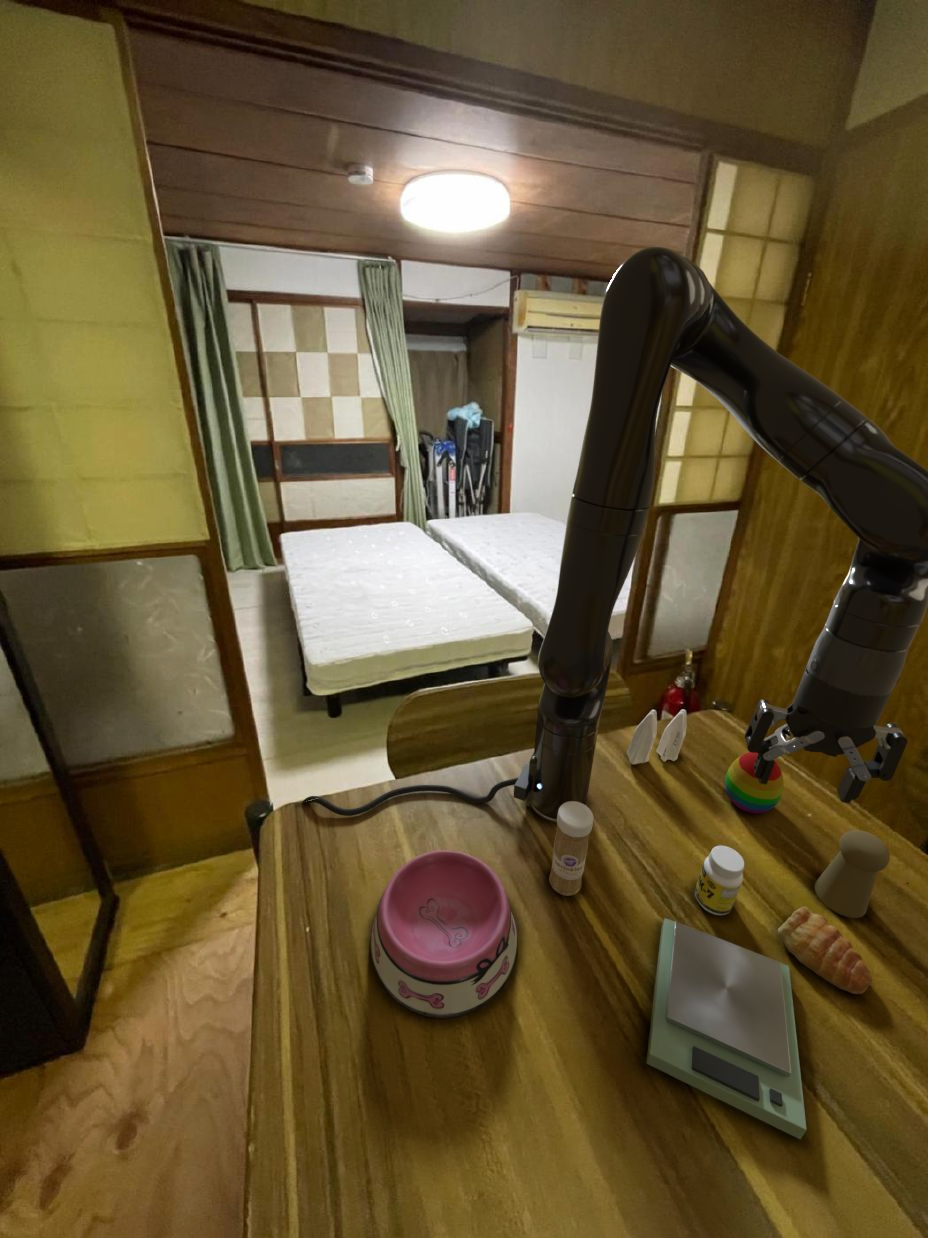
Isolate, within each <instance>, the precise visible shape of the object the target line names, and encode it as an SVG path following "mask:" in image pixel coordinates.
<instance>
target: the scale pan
mask: <svg viewBox="0 0 928 1238" xmlns="http://www.w3.org/2000/svg"><path fill="white" fill-rule="evenodd" d="M674 922H675V925H674V934H673V945H672V956H671V967H670V978H669V989H668V1000H667V1011H666V1021H668V1022H670V1023H672V1024H674V1025H676V1026H678V1027H681V1028H683V1029H685V1030H687V1031H689V1032H691V1033H694V1034H696V1035H698V1036H700V1037H702V1038H704V1039H707V1040H709V1041H711V1042H713V1043H715V1044H718V1045H720V1046H722V1047H724V1048H726V1049H728V1050H731V1051H733V1052H735V1053H737V1054H739V1055H741V1056H744V1057H746V1058H748V1059H750V1060H752V1061H755V1062H757V1063H759V1064H761V1065H763V1066H765V1067H768V1068H770V1069H772V1070H774V1071H776V1072H778V1073H781V1074H783V1075H785V1076H787V1077H789V1076H790V1074H791V1067H790V1057H789V1046H788V1036H787V1025H786V1015H785V1004H784V994H783V983H782V972H781V961H778V960H776V959H773V958H772V957H768V956H766V955H764V954H760V953H758V952H756V951H753V950H750V949H748V948H745V947H742V946H740V945H738V944H735V943H732V942H730V941H727V940H725V939H722V938H719V937H718V936H714V935H712V934H709V933H707V932H704V931H702V930H699V929H697V928H694V927H691V926H689V925H686V924H683V923H682V922H681V923H680V922H679V921H674Z"/></svg>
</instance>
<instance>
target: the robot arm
mask: <svg viewBox="0 0 928 1238" xmlns="http://www.w3.org/2000/svg"><path fill="white" fill-rule="evenodd" d="M599 317H600V318H599V324H598V334H597V346H596V356H595V364H594V365H595V366H594V375H593V385H592V395H591V401H590V408H589V412H588V417H587V421H586V427H585V432H584V436H583V440H582V444H581V450H580V454H579V455H580V457H579V460H578V466H577V471H576V475H575V479H574V484H573V488H572V493H571V498H570V502H569V508H568V513H567V518H566V523H565V524H566V525H565V532H564V537H563V538H564V539H563V544H562V550H561V551H562V552H561V558H560V566H559V573H558V581H557V588H556V589H557V590H556V596H555V601H554V605H553V608H552V612H551V616H550V618H549V622H548V626H547V629H546V631H545V635H544V637H543V640H542V643H541V646H540V649H539V652H538V655H537V656H538V657H537V666H538V670H539V671H538V672H539V675H540V677H541V679H542V682H543V687H542V690H541V692H540V693H541V694H540V697H539V700H538V705H537V717H536V718H537V719H536V728H535V737H534V748H533V753H532V755H531V757H530V759H529V763H528V764H527V763H525V764H524V766H523V767H522V769H521V772H519V775H518V777H515V778H510V779H506V780H502V781H500V782H498V783H496V784H494V786H492V787H491V789H490V791H489V792H488V794H487V795H486V796H479V797H478V796H474V795H470V794H468V793H466V792H464V791H461V790H459V789H456V788H454V787H451V786H448V785H440V784H439V785H438V784H419V785H412V786H411V785H410V786H404V787H400V788H397V789H396V788H395V789H393V790H390V791H388V792H386V793H384V794H382V795H380V796H379V797H376V798H374V799H373V800H372V801H370V802H368V803H365V804H364V805H363V806H360V807H355V808H342V807H340V806H337V805H335V804H333V803H332V802H330V801H329V800H327V799H326V798H324V797H321V796H318V795H310V796H307V797H305V798H304V799H303V801H302V802H303V803H302V804H303V805H309V804H311V803H316V804H319V805H321V807H324V809H327V810H329V811H330V812H332V813H334V814H336V815H340V816H343V817H345V816H346V817H351V816H357V815H361V814H364V813H366V812H368V811H370V810H373V809H374V808H376V807H377V806H379V805H381V804H382V803H384V802H385V801H388V800H389V799H392V798H394V797H397V796H400V795H405V794H410V793H417V792H438V793H446V794H451V795H453V796H456V797H458V798H460V799H462V800H464V801H466V802H470V803H474V804H487V803H489V802H491V801H492V800H493V799H494V798H495V795H496V794H497V792H499V791H500V790H501V789H503V788H504V789H505V788H507V787H510V786H513V798H514V799H517V800H520V801H524V802H525V806H526V807H529V808H531V809H532V811H533V813H535V814H536V815H537V816H538V817H540V818H541V819H543V820H545V821H546V822H550V823H553V824H557V815H558V810H559V808H560V806H561V805H562V804H564V803H566V802H569V801H576V802H580V803H582V804H584V805H586V806H587V802H588V794H589V789H590V782H591V775H592V770H593V763H594V758H595V752H596V746H597V739H598V734H599V727H600V721H601V715H602V711H603V707H604V703H605V699H606V694H607V689H608V683H609V676H610V672H611V666H612V659H613V653H614V644H613V639H612V636H611V634H610V632H609V628H610V623H611V620H612V619H611V618H612V615H613V612H614V608H615V606H616V603H617V600H618V598H619V596H620V594H621V592H622V590H623V587H624V585H625V582H626V580H627V578H628V576H629V573H630V571H631V568H632V566H633V564H634V560H635V558H636V555H637V552H638V551H639V547H640V544H641V541H642V538H643V535H644V532H645V528H646V524H647V521H648V516H649V514H650V513H649V512H650V509H651V505H652V502H653V496H654V491H655V484H656V473H657V471H656V469H657V454H656V453H657V451H656V449H657V448H656V447H657V445H656V436H657V435H656V431H657V430H656V429H657V419H658V412H659V408H660V407H659V406H660V402H661V398H662V395H663V391H664V388H665V384H666V381H667V378H668V374H669V371H670V368H671V367H672V368H673V369H675V370H677V371H679V372H681V373H682V374H684V375H685V376H687V377H689V378H691V379H692V380H693V381H694V382H696V383H698V384H699V385H701V386H702V387H703V389H705V390H707V391H708V392H709V393H710V394H711V395H712V396H713V397H714V398H715V399H716V400H718V401H719V402H720V403H721V404H722V406H723V407H724V408H725V409H726V410H727V411H728V412H729V413H730V414H731V415H732V416H733V417H734V419H735V420H736V421H737V422H738V423H739V424H740V426H741V427H742V428H743V429H744V430H745V431H746V433H747V434H748V435H749V436H750V437H751V438H752V439H753V440H754V442H755V443H756V444H758V446H759V447H760V448H762V449H763V450H764V451H765V453H767V454H768V455H769V456H770V457H771V458H773V459H774V460H775V461H776V462H777V463H778V464H780V466H782V467H783V468H784V469H786V470H787V471H788V472H789V473H790V474H792V475H793V476H794V477H795V478H796V479H798V480H799V481H800V482H801V483H802V484H804V485H805V486H806V487H808V488H810V489H811V490H812V491H814V492H815V493H816V494H817V495H819V497H820V498H822V499H823V501H824V502H825V503H826V504H827V506H828V507H829V508H830V509H831V510H832V511H833V513H834V514H835V515H836V516H837V517H838V519H840V520H841V521H842V522H843V523H844V524H845V526H847V528H848V529H849V530H850V531H851V532H852V533H853V534H854V535H855V536H856V537H857V538H858V539H857V543H856V546H855V550H854V552H853V556H852V559H851V563H850V566H849V569H848V572H847V574H846V575H845V577H844V579H843V582H842V583H841V585H840V587H839V589H838V591H837V593H836V595H835V597H834V601H833V602H832V604H831V608H830V611H829V613H828V616H827V619H826V621H825V624H824V626H823V628H822V630H821V632H820V634H819V635H818V637H817V639H816V640H815V642H814V645H813V647H812V650H811V653H810V655H809V658H808V661H807V664H806V666H805V669H804V671H803V673H802V676H801V679H800V682H799V684H798V687H797V690H796V692H795V696H794V699H793V701H792V703H791V704H790V705H789V706H787V707H786V708H784V707H780V706H777V705H772V704H771V701H769V700H768V699H760V700H759V701H758V703H757V705H756V707H755V710H754V712H753V715H752V717H751V720H750V721H749V724H748V726H747V728H746V731H745V732H744V739H745V743H746V748H747V751H748V752H751V753H758V755H757V758H756V761H755V763H754V766H753V768H754V773H755V777H756V778H758V781H759V783H761V784H765V785H766V784H767V782H768V780H769V777H770V775H771V772H772V769H773V767H774V764H775V761H776V759H777V758H779V757H781V756H783V755H785V754H787V755H791V754H793V753H795V752H797V751H800V750H801V749H803V750H804V751H805V752H811V753H822V754H823V755H826V756H828V757H829V756H830V757H834V758H837V757H838V756H843V755H845V757H846V759H847V761H848V762H849V764H850V766H846V769H845V771H844V773H843V775H842V778H841V779H840V781H839V783H838V786H837V788H836V793H837V795H838V797H839V800H840V802H841V803H845V804H851V802H852V800H853V801H855V800H857V799H858V798H859V797H860V795H861V793H862V791H863V789H864V787H865V785H866V783H867V782H869V781H870V780H871V779H879V780H881V781H884V782H889V781H891V780H892V779H893V778H894V776H895V773H896V770H897V769H898V766H899V763H900V761H901V759H902V757H903V755H904V751H905V749H906V747H907V745H908V741H909V740H908V738H907V737H906V736H905V733H903V731H902V730H901V728H900V726H899V725H898V724H897V723H895V722H889V723H887V724H885V726H881V725H876V724H877V723H878V722H879V721H880V718H881V716H882V714H883V712H884V710H885V708H886V706H887V704H888V701H889V700H890V697H891V695H892V693H893V691H894V689H895V686H896V685H897V684H898V683H899V681H900V678H901V674H902V671H903V669H904V667H905V664H906V659H907V656H908V653H909V650H910V648H911V645H912V642H913V641H914V638H915V636H916V634H917V633H918V629H919V628H920V627H921V623H922V622H923V619H924V617H925V614H926V612H927V609H928V470H927V469H926V468H925V467H923V465H921V464H919V463H918V462H917V461H916V460H914V459H913V458H911V457H910V456H908V455H907V454H906V453H905V452H903V451H902V450H900V449H899V448H898V447H896V446H895V445H894V444H893V443H892V442H891V440H890V438H889V437H888V435H887V434H886V433H885V432H884V431H883V430H882V429H881V428H880V426H879V425H877V424H876V423H875V422H874V421H873V420H872V419H871V418H868V416H867V415H865V414H864V413H863V412H862V411H861V410H859V409H858V408H856V407H855V406H854V405H852V404H851V403H850V402H849V401H847V400H846V399H845V398H843V397H842V396H841V395H839V394H838V393H837V392H836V391H834V390H833V389H831V388H830V387H829V386H828V385H826V384H825V383H824V382H822V381H820V380H819V379H818V378H816V377H815V376H814V375H812V374H810V373H809V372H808V371H806V370H804V369H803V368H802V367H800V366H798V365H797V364H795V363H794V362H792V361H791V360H790V359H788V358H787V357H785V356H784V355H783V354H781V353H779V352H778V351H777V350H776V349H774V348H773V347H772V346H770V345H769V344H768V343H766V342H765V341H764V340H763V339H762V338H761V337H760V336H758V335H757V334H756V333H755V332H754V331H753V330H752V329H750V328H749V327H748V326H747V325H746V323H744V322H743V321H742V320H741V319H740V318H739V316H737V314H736V313H735V312H734V311H733V309H732V308H730V306H729V305H728V304H727V303H726V301H725V300H724V299H723V297H722V296H721V295H720V294H719V292H718V291H717V290H716V289H715V287H714V286H713V285H712V283H710V281H709V279H708V277H707V276H706V274H705V272H704V270H703V269H702V268H701V267H700V266H698V264H696V263H695V262H693V261H692V260H690V259H689V258H687V257H685V256H684V255H682V254H681V253H679V252H677V251H675V250H673V249H670V248H667V247H662V246H650V247H646V248H643V249H640V250H639V251H637V252H635V253H634V254H632V255H630V256H629V257H628V258H627V259H626V260H624V262H623V263H622V264H621V265H620V266H619V267H618V269H617V270H616V272H615V273H614V274H613V276H612V279H611V280H610V282H609V284H608V285H607V288H606V291H605V294H604V297H603V301H602V305H601V310H600V316H599ZM780 721H785V724H783V725H781V726H780V727H778V728H777V729H775V731H774V733H772V734H770V735H769V736H767V733H768V731H769V729H770V727H775V726H776V724H778V722H780ZM766 736H767V737H766ZM791 736H792V737H793V738H791V739H790V737H791ZM873 739H875V740H876V742H877V746H876V748H875V751H874V754H873V756H872V759H871V760H864V759H863V757H862V756H861V754H860V752H859V750H858V748H859V747H861V746H863V745H865V744H868V743H869V742H871V741H873ZM774 760H775V761H774ZM320 797H321V798H320ZM315 798H319V799H315ZM311 799H315V800H312V801H308V800H311ZM306 801H307V802H306Z"/></svg>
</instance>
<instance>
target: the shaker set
mask: <svg viewBox="0 0 928 1238" xmlns="http://www.w3.org/2000/svg"><path fill="white" fill-rule="evenodd" d="M657 714H658V713H657V710H656V709H651V710H650V711H649V712H648V714H646V716H645V717H643V719H642V720H641V721H640V723H639V724H638V725H637V727H636V728H635V729H634V732H633V734H632V737H631V738H630V742H629V745H628V748H627V750H626V756H627V758H628V761H629V763H630V764H631V765H637V764H644V763H647V762H649V761H650V756H651V753H652V749H653V747H654V744H655V741H656V739H657V734H658V715H657ZM686 734H687V710H686V709H683V708H682V709H680V711H679V712H678V713H677V714H676V715H675V716H674V717H673V719H672V720H671V721H670V722H669V723H668V724H667V725H666V727H665V728H664V730H663V732H662V735H661V737H660V741H659V743H658V745H657V747H656V751H655V752H656V753H657V754H658V755H659V756H660V760H661V761H662V762H666V761H667V760H668V761H669V760H671V761H672V762H675V761H676V760H678V758H679V754H680V751H681V748H682V745H683V744H684V741H685V739H686V736H687V735H686Z"/></svg>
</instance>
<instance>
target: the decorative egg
mask: <svg viewBox="0 0 928 1238" xmlns="http://www.w3.org/2000/svg"><path fill="white" fill-rule="evenodd" d="M757 755H758V753H751V752H749V751H748V752H745V753H744V754H741V755H740V756H738V757H737V758H736V759H734V761H733V762H732V763H731V764H730V766H729V767H728V770H727V772H726V775H725V781H724V782H725V783H724V785H725V791H726V793H727V796H728V798H729V800H730V801H731V802H732V803H733V805H735V806H736V807H737V808H738V809H740V810H742V811H743V812H747V813H749V814H756V815H757V814H763V813H767V812H768V811H771V810H773V808H774V807H776V806H777V805H778V803H779V801H780V800H781V798H782V796H783V792H784V776H783V772H782V770H781V767H780V765H779V764H778V762H777V761H776V759H774V761H775V764H774V767H773V769H772V772H771V775H770V777H769V780H768V782H767V784H766V785H765V784H761V783H759V781H758V778H756V777H755V773H754V768H753V766H754V763H755V761H756V758H757Z"/></svg>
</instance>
